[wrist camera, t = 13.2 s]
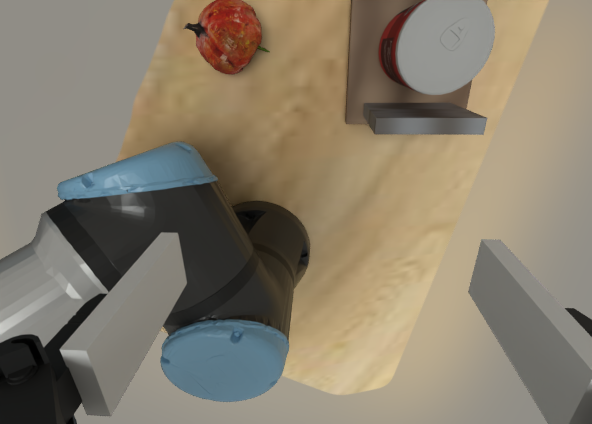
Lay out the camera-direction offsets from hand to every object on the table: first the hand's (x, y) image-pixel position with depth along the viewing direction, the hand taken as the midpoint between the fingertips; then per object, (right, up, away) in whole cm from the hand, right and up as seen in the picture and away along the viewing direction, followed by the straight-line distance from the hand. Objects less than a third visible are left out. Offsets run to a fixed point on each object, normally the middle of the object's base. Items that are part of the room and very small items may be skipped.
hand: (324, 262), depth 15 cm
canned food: (+12, +21, +23) cm, 33 cm away
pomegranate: (-8, +23, +25) cm, 35 cm away
